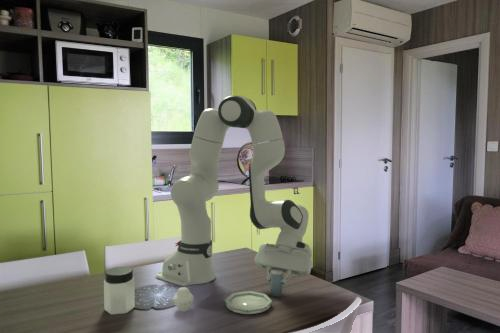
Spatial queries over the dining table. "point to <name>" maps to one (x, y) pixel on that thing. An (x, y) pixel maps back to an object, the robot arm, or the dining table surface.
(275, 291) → the ball
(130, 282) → the jar
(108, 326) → the dining table surface
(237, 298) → the plate
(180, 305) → the muffin
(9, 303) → the dining table surface
